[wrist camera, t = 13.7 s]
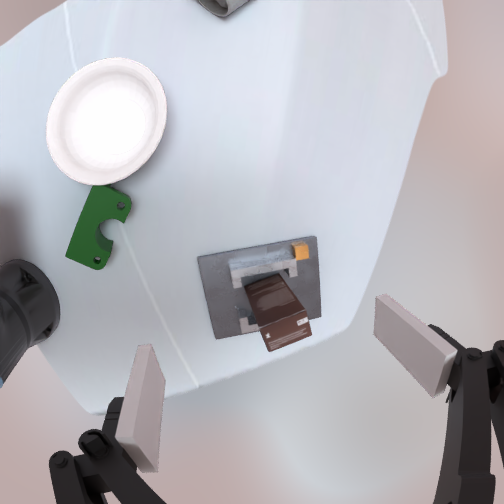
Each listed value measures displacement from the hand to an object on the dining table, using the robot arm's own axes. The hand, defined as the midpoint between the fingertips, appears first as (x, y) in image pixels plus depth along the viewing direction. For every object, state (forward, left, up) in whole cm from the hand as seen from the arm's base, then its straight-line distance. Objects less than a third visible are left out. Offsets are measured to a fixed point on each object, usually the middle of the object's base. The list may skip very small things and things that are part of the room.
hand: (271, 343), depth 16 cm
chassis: (+4, -10, -29) cm, 31 cm away
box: (+4, -10, -28) cm, 30 cm away
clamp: (-18, +5, -29) cm, 34 cm away
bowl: (-13, +18, -29) cm, 36 cm away
